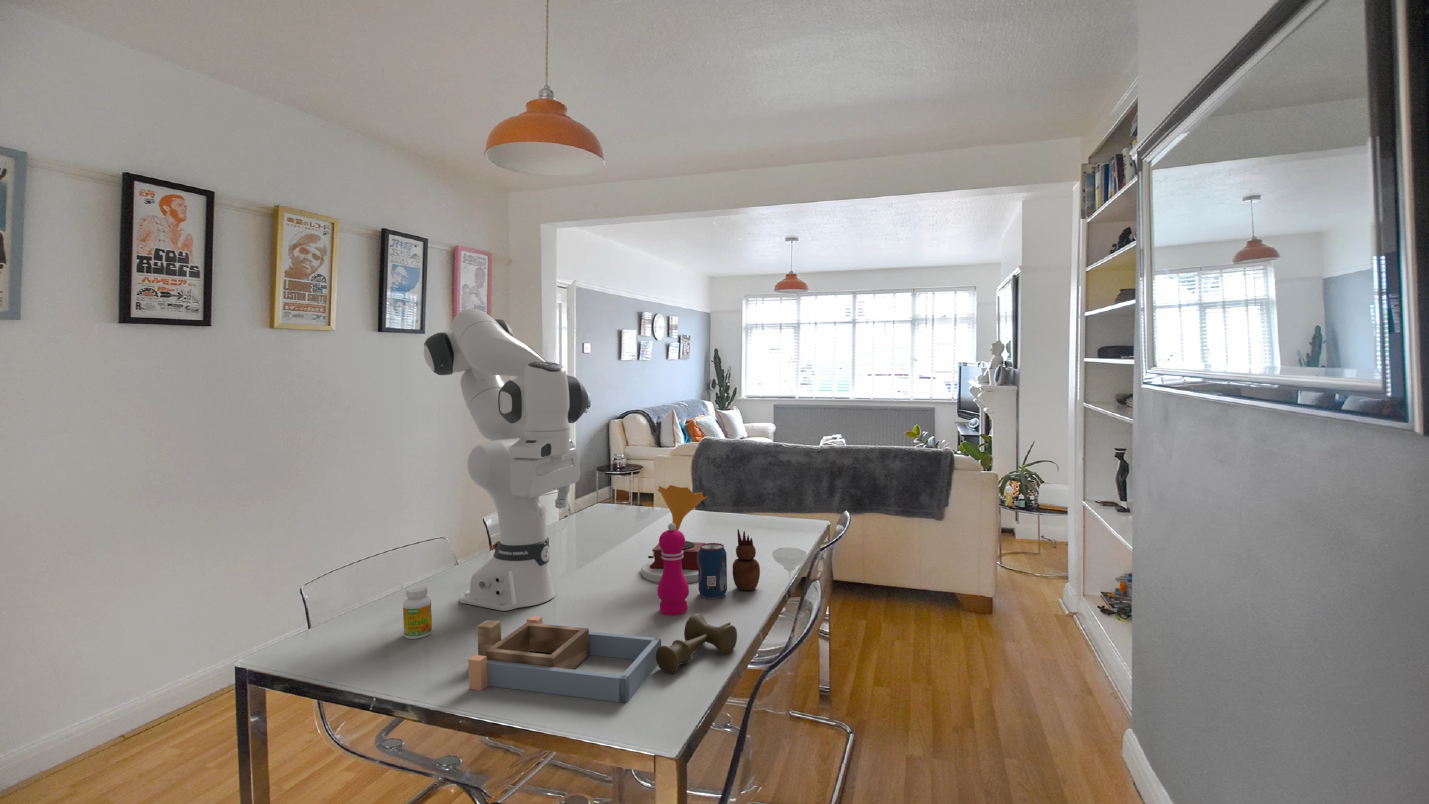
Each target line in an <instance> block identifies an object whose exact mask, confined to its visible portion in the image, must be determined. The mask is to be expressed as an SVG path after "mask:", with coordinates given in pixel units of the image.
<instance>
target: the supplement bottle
mask: <svg viewBox="0 0 1429 804" xmlns="http://www.w3.org/2000/svg"><path fill="white" fill-rule="evenodd" d="M405 595H406V599H405V600H404V601H403V603H402V612H403V614H402V616H403V618H402V619H403V636H404V637H405V638H406V639H408V640H418V639H421V638H426V637H427V636H430V635H431V634H432V633H433V617H432V599H431V598H430V597H429V596H428V587H427V586H425V585H415V586H411V587H409V588H407V589H406V591H405Z"/></svg>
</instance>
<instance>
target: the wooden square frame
mask: <svg viewBox="0 0 1429 804" xmlns="http://www.w3.org/2000/svg"><path fill="white" fill-rule="evenodd" d="M501 624H502V621H500V620H489V619H487V620H484V621H483V622H482V623H480V624H478V625H477V626H476V630H477V631H476V632H477V633H476V634H477V655H480V656H487V660H495V661H503V662H512V663H521V664H529V665H538V666H547V667H556V668H564V669H573V670H575V669H576V667H578V665H580V664H581V663H582V662H583V661H584V660H585V659H586V658H587V657H588V656H589V655H590V654H589V630H590V628H587V627H576V626H566V625H554V624H545V623H542V624H537V623H527V622H525V623H524V624H522V625H521V626H520V627H517V628H516V629H515V630H514V631H512V632H511V633H510V634H508V635H506V636H505V637H504V638H502V625H501ZM536 652H537V653H536ZM538 652H539V653H538ZM540 652H541V653H540ZM546 653H548V654H546Z"/></svg>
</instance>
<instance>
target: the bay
mask: <svg viewBox="0 0 1429 804" xmlns="http://www.w3.org/2000/svg"><path fill="white" fill-rule="evenodd" d="M526 623H537V624H543V617H542V616H537V615H536V616H534V615H532V616H530V617H528V618H527V619H526ZM661 646H662V638H660V637H654V636H653V637H650V636H640V635H629V634H621V633H619V634H618V633H610V632H609V633H608V632H599V631H592V630H591V631H589V655H592V656H599V657H600V656H601V657H609V658H610V657H612V658H620V659H629V660H634V661H633V662H632V663H631V664H629V666H628V667H627V668H626V670H625V671H624V672H623V673H622V674H615V673H606V672H597V671H596V672H595V671H591V670H590V671H589V670H588V671H587V670H581V669H564V668H556V667H547V666H538V665H529V664H521V663H512V662H503V661H495V660H487V656H480V655H478V654H474V655H473V656H471V657H470V658H468V660H467V663H468V667H467V668H468V689H469V690H474V691H482V690H483V691H484V689H486V688H487V687H496V688H504V689H513V690H518V691H519V690H520V691H528V692H535V693H545V694H551V695H552V694H553V695H558V696H559V695H560V696H567V697H568V696H569V697H575V698H583V699H589V700H598V701H605V702H615V703H623V704H627V703H628V702H629V700H630V699H631V698H632V697H633V696H634V694H635V693H636V691H637V690H638V689H639V688H640V686H641V685H643V683H644V682H645V680H646V679H647V678H648V677H649V676H650V674H651V673H652V672H653V670H654V669H655V668H656V666H658V664H657V661H656V652H657V650H658V648H659V647H661Z"/></svg>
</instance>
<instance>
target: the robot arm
mask: <svg viewBox="0 0 1429 804" xmlns="http://www.w3.org/2000/svg"><path fill="white" fill-rule="evenodd" d="M423 356H424V360H425V363H426V364H427V366H428V367H429V368H430V370H432V372H433V373H435V374H436V375H438V376H449V375H453V373H454V374H455V373H461V372H463V374H461V377H460V384H459V385H460V388H461V393H462V396H463V399H464V402H465V404H466V407H467V409H468V411H469V413H470V415H471V417H472V419H473V421H474V423H475V425H476V427H477V429H478V431H479V433H480V434H481V435H482V436H483V437H484V438H485V439H486V440H489V441H488V442H484V443H482V444H481V443H480V444H478V445H476V446H474V447H473V448H472V450H471V451H470V453H469V455H468V458H467V462H466V463H467V465H466V466H467V473H468V474H469V476H470V479H471V480H472V481H473V482H474V483H475V484H476V485H478V486H479V487H480V488H482V489H483V490H485V492H487V493H488V494H489V496H490V497H491V499H492V501H493V503H494V505H495V508H496V513H497V517H498V518H497V519H498V531H499V540H498V541H496V542H495V543H494V544H491V545H489V548H490V549H489V551H493V550H494V551H493V556H492V557H491V558H490V559H488V561H486V562H485V563H484V564H482V565H481V566H480V567H479V568H477V569H476V570H475V571H474V573H473V574H472V575H471V578H470V583H469V589H468V590H466V591H465V592H464V593H462V594H461V595H460V597H459V603H462V604H464V605H465V604H466V605H471V606H476V607H481V608H486V609H492V610H497V611H502V612H505V611H511V610H514V609H518V608H525V607H527V608H528V607H532V606H536V605H541V604H543V603H545V602H548V601H550V600H552V599H553V598H555V596H556V594H557V593H556V591H555V587H554V584H553V580H552V575H551V569H550V556H551V555H550V552H551V551H550V538H549V537H548V523H547V522H548V521H547V509H546V506H545V504H543V503H542V501H540V500H539V499H540V496H541V495H544V494H547V493H550V492H553V491H557V496H556V497H557V498H555V499H554V503H555V505H554V507H555V509H564V508H566V507H567V499H568V495H569V494H570V493H569V492H570V485H572V484H575V483H578V482H579V480H580V476H581V470H580V458H579V454H578V451H577V449H576V447H575V444H574V442H573V441H572V440H571V427H570V424H575V423H576V422H577V421H579V419H580V418H581V417H582V416H583V414H585V412H586V410H587V409H588V405H589V404H588V403H589V397H588V393H587V389H586V388H585V386H584V385H583V384H582V382H581V381H580V380H579V379H578V378H576V377H575V376H572V375H567V370H566V367H564V366H563V365H562V364H559V363H557V362H552V361H550V360H549V359H548V358H547V357H546V356H544V355H543V354H542V353H541V352H539V351H538V350H536V349H534V348H532V347H531V346H529V345H527V344H525V343H523V342H521V341H520V340H519V339H517V338H515V335H514V331H513V330H512V328H511V327H510V325H509V324H508V323H507V322H506V320H503V319H495V318H493V317H492V316H490V315H489V314H488V313H486V312H484V311H483V310H481V309H477V308H467V309H464V310H461V311H459V312H458V313H456V315H455V316H454V318H453V320H452V322H451V329H448V330H446V331H443V332H437V333H435V334H433V335H430V336H429V337H427V338H426V340H425V342H424V343H423ZM502 376H503V377H506V376H507V377H515V378H513V379H509V380H507V381H506V382H505V381H504V380H503V378H502Z"/></svg>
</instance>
